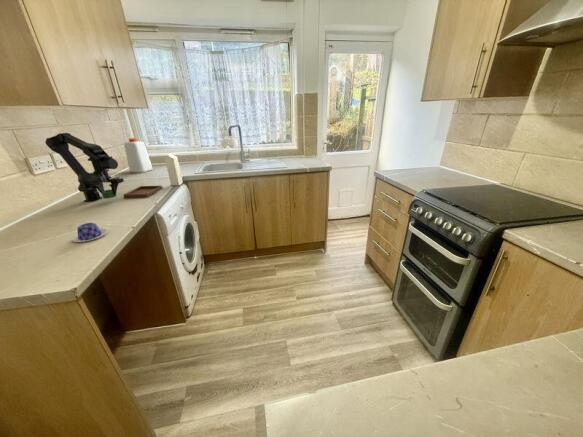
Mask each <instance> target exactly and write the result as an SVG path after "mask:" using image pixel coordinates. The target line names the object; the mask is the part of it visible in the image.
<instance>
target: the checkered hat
mask: <svg viewBox="0 0 583 437" xmlns="http://www.w3.org/2000/svg"><path fill="white" fill-rule="evenodd" d="M76 230H77V234H75V235H74V236H73V237H72V238H71V241H72V242H75V243H84V242H88V241H89V242H90V241H93V240H96V239H98V238H101V237H103V236H104V235H106V234H107V233H108V229H107V228H99V226H98V225H97V224H96V223H95V222H86V223H83V224H80V225H79V226H77V229H76Z"/></svg>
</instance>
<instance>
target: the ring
mask: <svg viewBox="0 0 583 437" xmlns="http://www.w3.org/2000/svg"><path fill="white" fill-rule="evenodd" d="M101 193H102V194H101ZM101 193H100V194H101V197H102V198H103V199H113V198H116V197H117V194H116V195H114V194H113V191H112V189H104V191H102V192H101Z"/></svg>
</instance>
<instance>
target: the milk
mask: <svg viewBox="0 0 583 437" xmlns="http://www.w3.org/2000/svg"><path fill="white" fill-rule="evenodd" d="M164 161H165V165H166V166H165V167H166V169H167V175H168V179H169V183H170V186H171V187H172V186H181V185H182V184H183V183H184V182H183V178H182V177H183V176H182V172H181V168H180V163H179V158H178V156H176V155H174V154H173V152H169V153H168V154H167V156H166V157H165V158H164Z"/></svg>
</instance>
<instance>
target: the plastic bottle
mask: <svg viewBox="0 0 583 437" xmlns="http://www.w3.org/2000/svg"><path fill="white" fill-rule="evenodd" d="M123 145H124V150H125V155H126V159H127V165H128V168H129V172H130V173H137V174H142V173H147V172H150V171H152V170H153V169H154V168H153V165H152V163H151V159H150V156H149V153H148V150H147V147H146V144H145V142H144V141H139V140H138V138H136V137H131V138H128V141H127V142H124V144H123Z"/></svg>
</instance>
